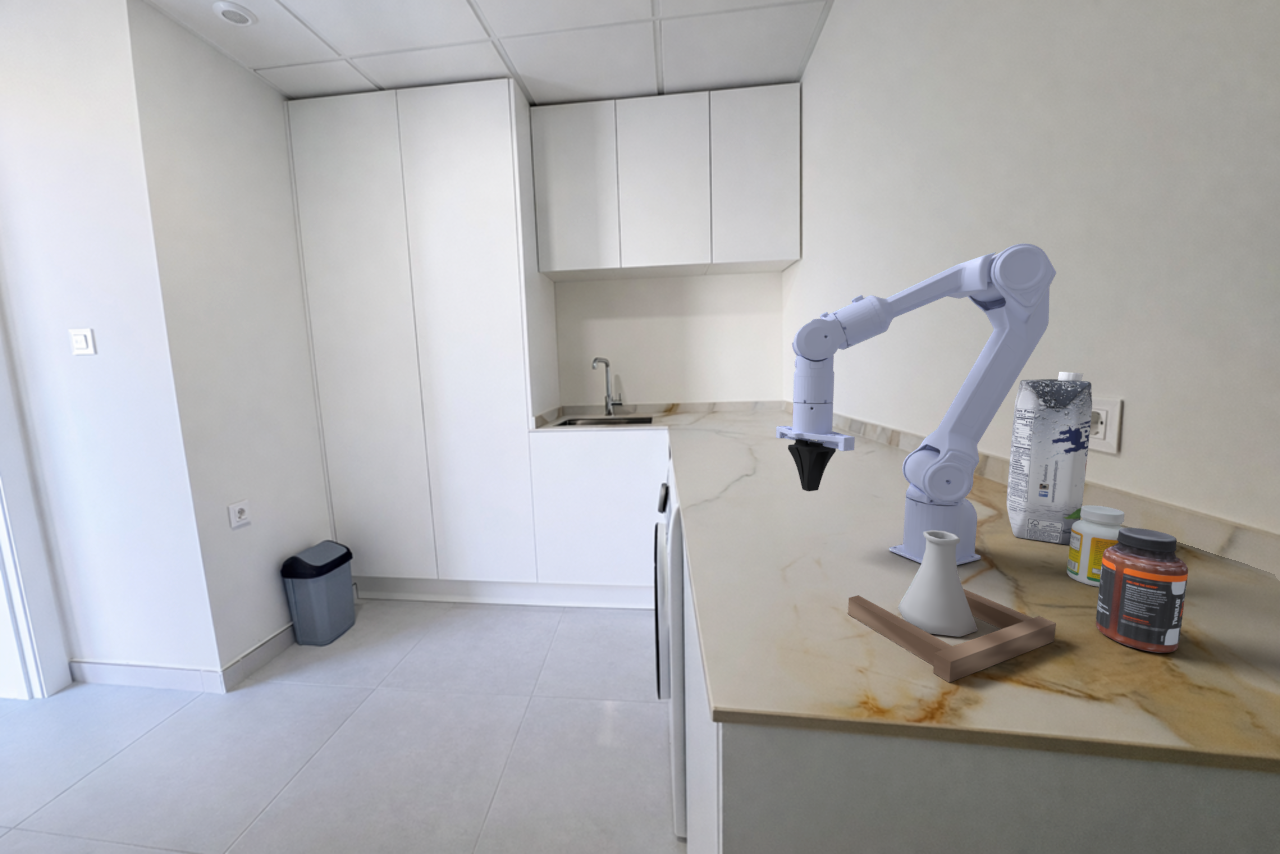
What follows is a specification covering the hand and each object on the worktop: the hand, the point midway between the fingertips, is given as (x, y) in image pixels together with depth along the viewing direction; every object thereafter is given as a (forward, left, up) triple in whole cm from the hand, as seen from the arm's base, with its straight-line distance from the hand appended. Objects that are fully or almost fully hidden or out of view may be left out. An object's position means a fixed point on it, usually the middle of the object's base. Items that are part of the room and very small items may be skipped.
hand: (810, 489), depth 73 cm
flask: (+2, +22, -10) cm, 25 cm away
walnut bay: (+3, +23, -9) cm, 25 cm away
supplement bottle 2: (-13, +33, -10) cm, 37 cm away
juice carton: (-39, +11, -10) cm, 42 cm away
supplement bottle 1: (-26, +24, -10) cm, 37 cm away
